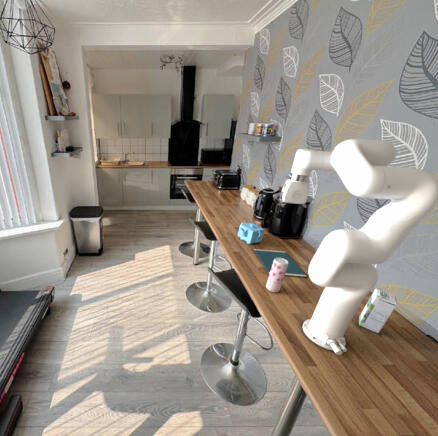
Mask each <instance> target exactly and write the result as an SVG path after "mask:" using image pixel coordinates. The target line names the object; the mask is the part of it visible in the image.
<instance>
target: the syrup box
mask: <svg viewBox="0 0 438 436" xmlns="http://www.w3.org/2000/svg"><path fill="white" fill-rule="evenodd" d="M397 306H398V300H397V296H396V295H395V294H392V293H390V292H387V291H385V290H382V289H378V288H375V289H374V290H373V292H372V294H371V296H370V297H369V299H368V301H367V303H366V304H365V306H364V308H363V309H362V311H361V312H360V314H359V317H358V325H359V326H360V327H362V328H364V329H367V330H370V331H371V332H374V333H376V334H379V333H381V331H382V329H383V327H384V326H385V324H386V322H388V319H389V318H390V316H391V315H392V313H393V312H394V310H395V308H396V307H397Z"/></svg>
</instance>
